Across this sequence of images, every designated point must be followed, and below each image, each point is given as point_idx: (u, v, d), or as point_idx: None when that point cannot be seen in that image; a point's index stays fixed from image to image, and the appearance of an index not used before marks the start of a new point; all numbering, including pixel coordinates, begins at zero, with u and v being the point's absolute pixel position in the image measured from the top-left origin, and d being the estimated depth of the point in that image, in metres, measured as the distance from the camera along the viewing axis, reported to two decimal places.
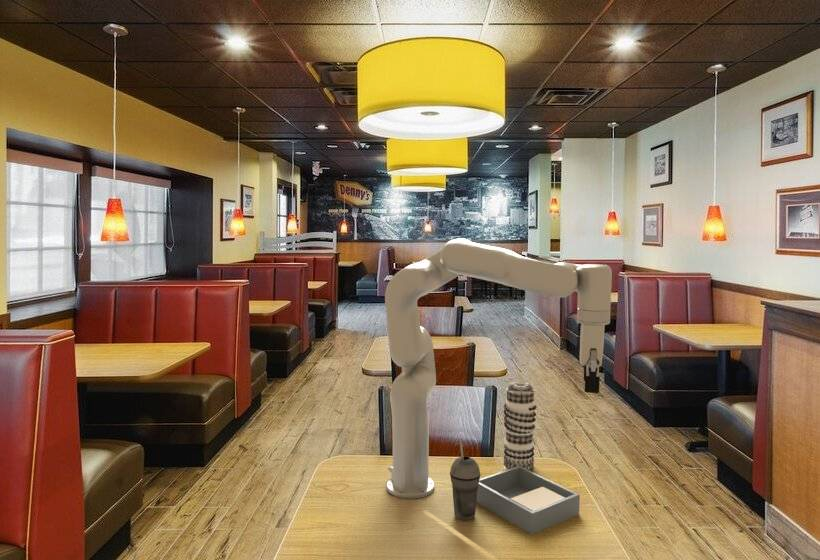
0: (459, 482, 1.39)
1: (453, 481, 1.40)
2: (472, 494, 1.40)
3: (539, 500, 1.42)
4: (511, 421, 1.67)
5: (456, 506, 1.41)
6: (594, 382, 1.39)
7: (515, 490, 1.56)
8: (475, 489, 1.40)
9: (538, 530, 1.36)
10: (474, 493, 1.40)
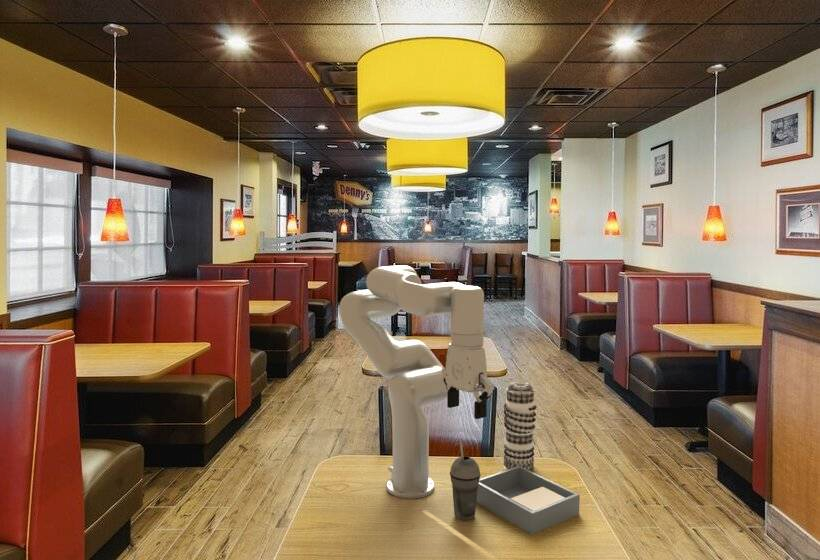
0: (459, 482, 1.39)
1: (453, 481, 1.40)
2: (472, 494, 1.40)
3: (539, 500, 1.42)
4: (511, 421, 1.67)
5: (456, 506, 1.41)
6: (484, 407, 1.35)
7: (515, 490, 1.56)
8: (475, 489, 1.40)
9: (538, 530, 1.36)
10: (474, 493, 1.40)
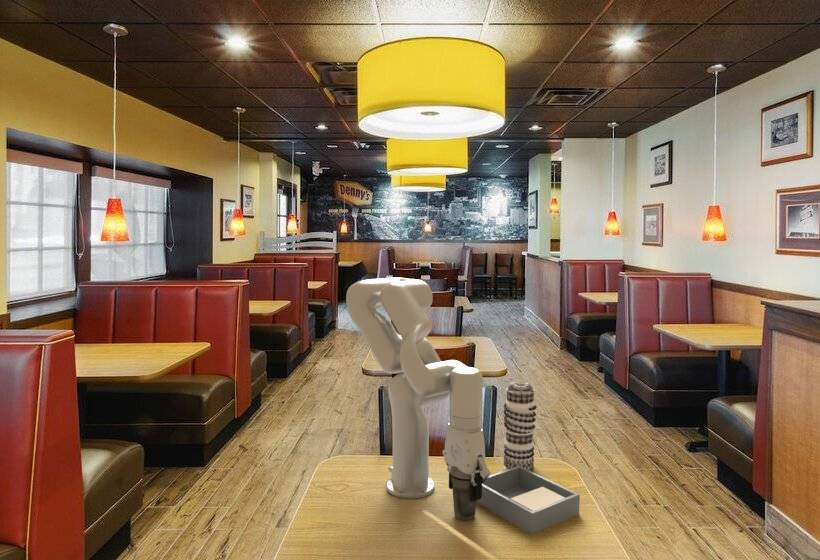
0: (459, 482, 1.39)
1: (453, 481, 1.40)
2: None
3: (539, 500, 1.42)
4: (511, 421, 1.67)
5: (456, 506, 1.41)
6: (480, 489, 1.39)
7: (515, 490, 1.56)
8: None
9: (538, 530, 1.36)
10: None
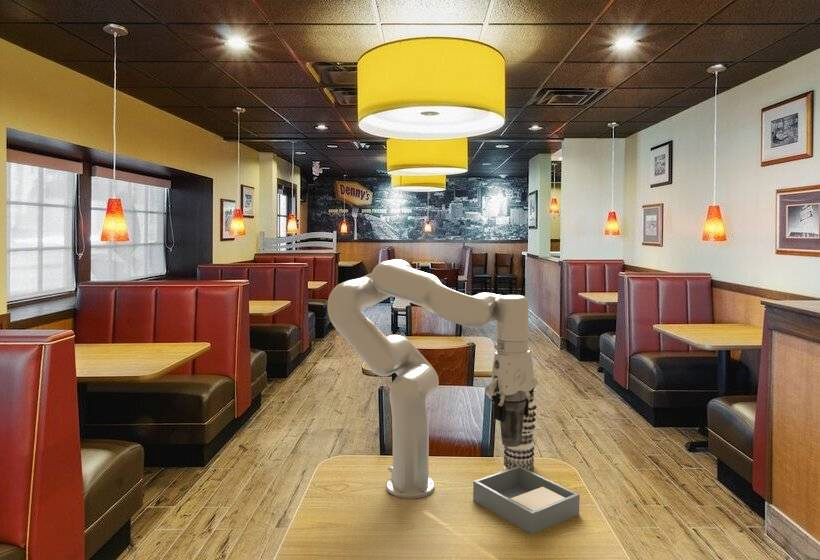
0: (525, 403, 1.46)
1: (520, 406, 1.45)
2: None
3: (539, 500, 1.42)
4: None
5: (519, 429, 1.46)
6: None
7: (515, 490, 1.56)
8: None
9: (538, 530, 1.36)
10: None
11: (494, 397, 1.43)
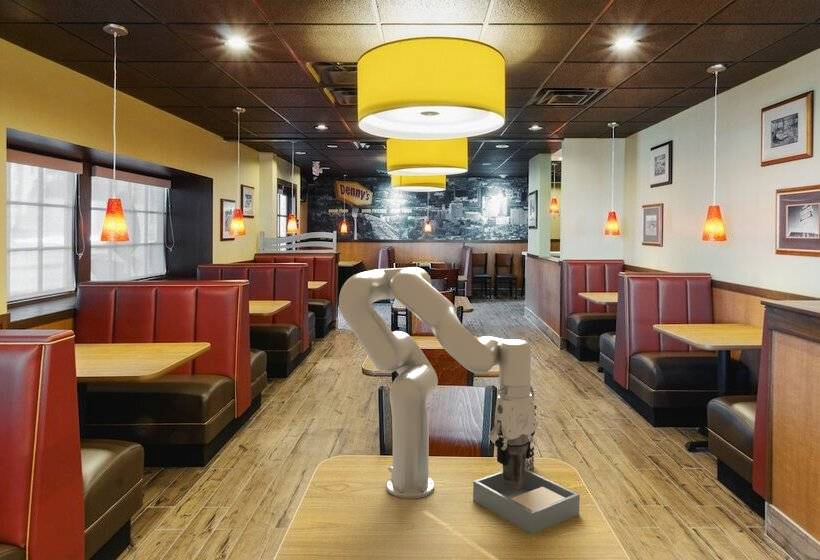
0: (527, 446, 1.48)
1: (523, 449, 1.47)
2: None
3: (539, 500, 1.42)
4: None
5: (522, 472, 1.48)
6: None
7: (515, 490, 1.56)
8: None
9: (538, 530, 1.36)
10: None
11: (497, 442, 1.45)
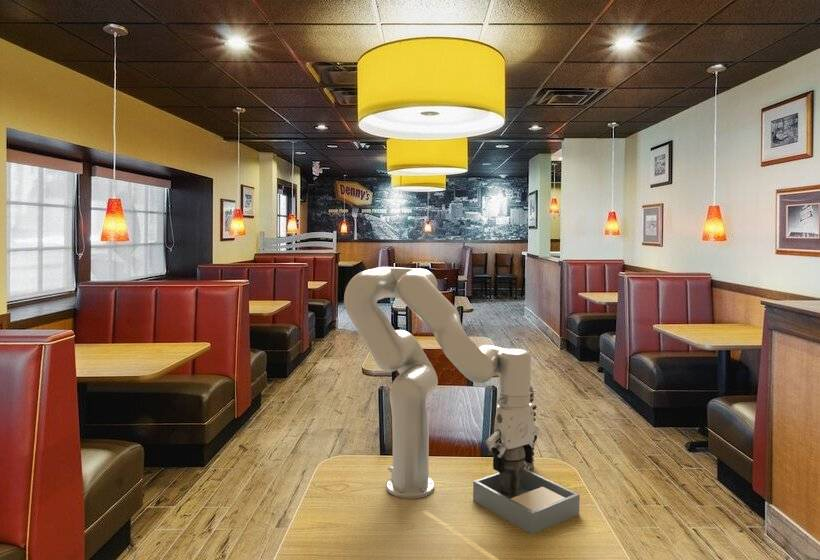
0: (524, 460, 1.48)
1: (519, 464, 1.47)
2: None
3: (539, 500, 1.42)
4: None
5: (519, 487, 1.49)
6: None
7: None
8: None
9: (538, 530, 1.36)
10: None
11: (494, 449, 1.45)
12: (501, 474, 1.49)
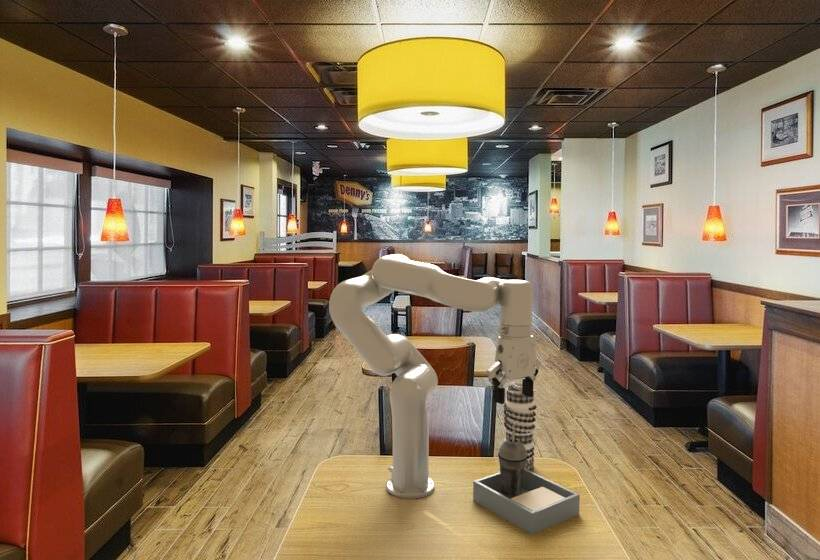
0: (525, 461, 1.48)
1: (521, 464, 1.47)
2: None
3: (539, 500, 1.42)
4: (511, 421, 1.67)
5: (519, 487, 1.49)
6: None
7: None
8: None
9: (538, 530, 1.36)
10: None
11: (494, 379, 1.43)
12: (502, 474, 1.49)
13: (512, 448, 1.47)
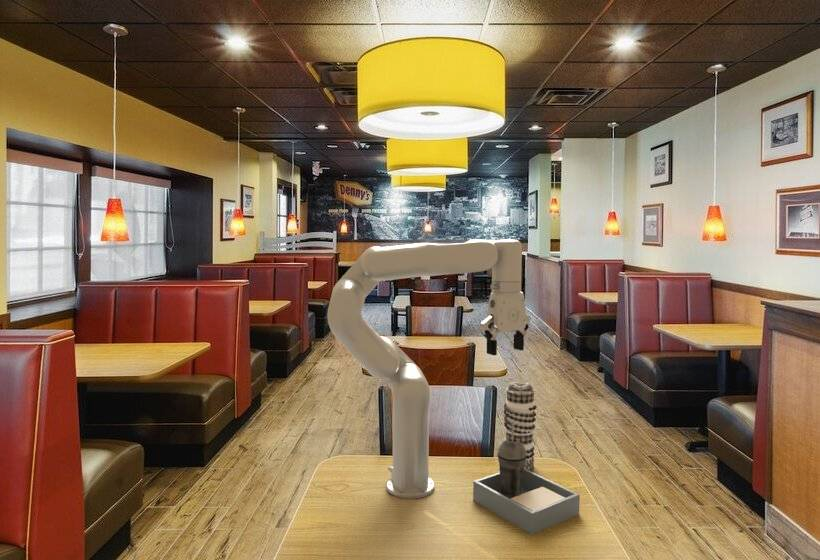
0: (525, 460, 1.49)
1: (520, 464, 1.48)
2: None
3: (539, 500, 1.42)
4: (511, 421, 1.67)
5: (519, 486, 1.49)
6: None
7: None
8: None
9: (538, 530, 1.36)
10: None
11: (487, 332, 1.53)
12: (502, 473, 1.49)
13: (511, 447, 1.48)
